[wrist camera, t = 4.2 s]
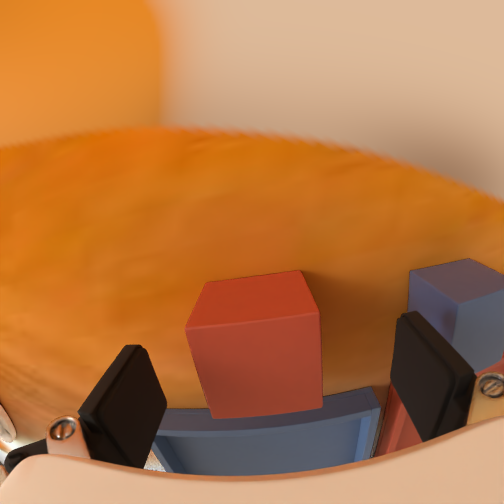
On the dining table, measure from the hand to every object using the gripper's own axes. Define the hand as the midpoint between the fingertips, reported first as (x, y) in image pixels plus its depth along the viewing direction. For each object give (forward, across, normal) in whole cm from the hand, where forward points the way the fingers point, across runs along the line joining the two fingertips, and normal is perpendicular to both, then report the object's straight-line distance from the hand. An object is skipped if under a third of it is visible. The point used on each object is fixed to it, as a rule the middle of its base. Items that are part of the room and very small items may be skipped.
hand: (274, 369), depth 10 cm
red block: (+4, +1, 0) cm, 4 cm away
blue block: (+5, -10, +1) cm, 11 cm away
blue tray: (+4, +2, +12) cm, 13 cm away
